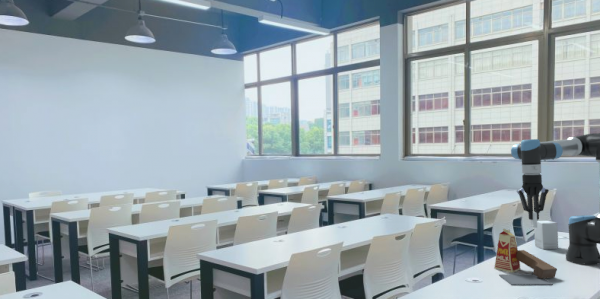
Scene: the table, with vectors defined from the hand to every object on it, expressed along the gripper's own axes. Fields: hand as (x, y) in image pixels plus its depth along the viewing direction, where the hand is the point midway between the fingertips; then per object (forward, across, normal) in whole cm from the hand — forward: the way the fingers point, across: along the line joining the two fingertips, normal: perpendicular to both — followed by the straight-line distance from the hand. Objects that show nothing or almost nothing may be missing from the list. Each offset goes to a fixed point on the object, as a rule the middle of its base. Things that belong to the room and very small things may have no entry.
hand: (534, 226), depth 187 cm
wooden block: (+21, +6, 0) cm, 22 cm away
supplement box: (+25, +32, +61) cm, 73 cm away
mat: (+24, -5, 0) cm, 24 cm away
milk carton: (+24, -6, +18) cm, 30 cm away
